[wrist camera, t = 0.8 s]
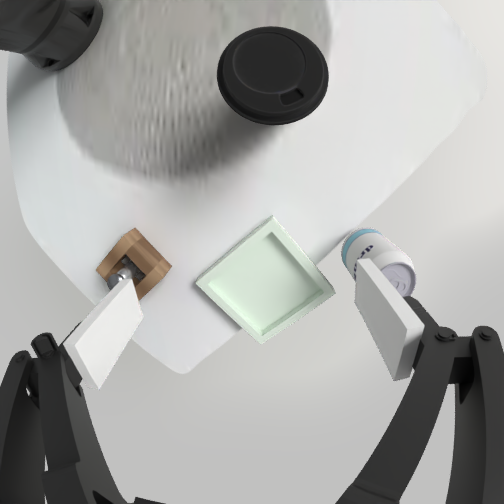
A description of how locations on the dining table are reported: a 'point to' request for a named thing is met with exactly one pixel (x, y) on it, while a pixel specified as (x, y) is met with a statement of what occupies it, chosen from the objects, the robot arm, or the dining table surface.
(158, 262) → the brown rectangular frame
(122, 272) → the grey round-topped rod
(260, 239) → the tray
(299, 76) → the coffee cup
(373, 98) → the dining table surface
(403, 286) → the beverage can
